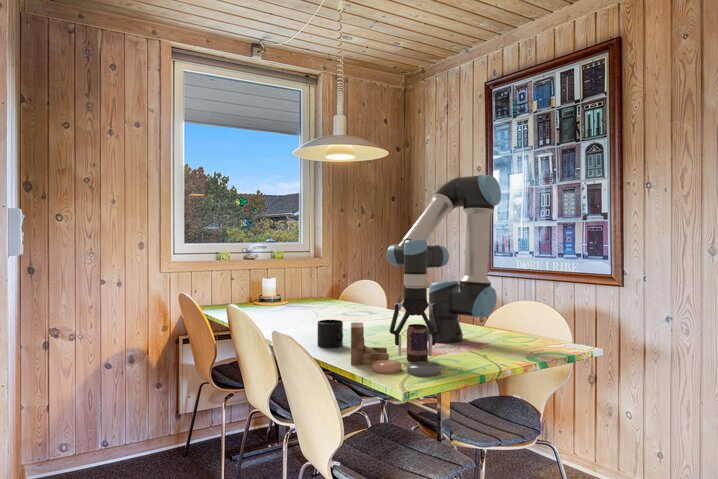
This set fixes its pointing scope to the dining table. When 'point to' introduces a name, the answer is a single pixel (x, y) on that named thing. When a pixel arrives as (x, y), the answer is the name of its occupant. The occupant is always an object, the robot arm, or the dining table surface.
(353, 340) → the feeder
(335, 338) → the mug
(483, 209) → the robot arm
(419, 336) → the mug
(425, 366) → the stand slate
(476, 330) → the dining table surface
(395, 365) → the pink disc
